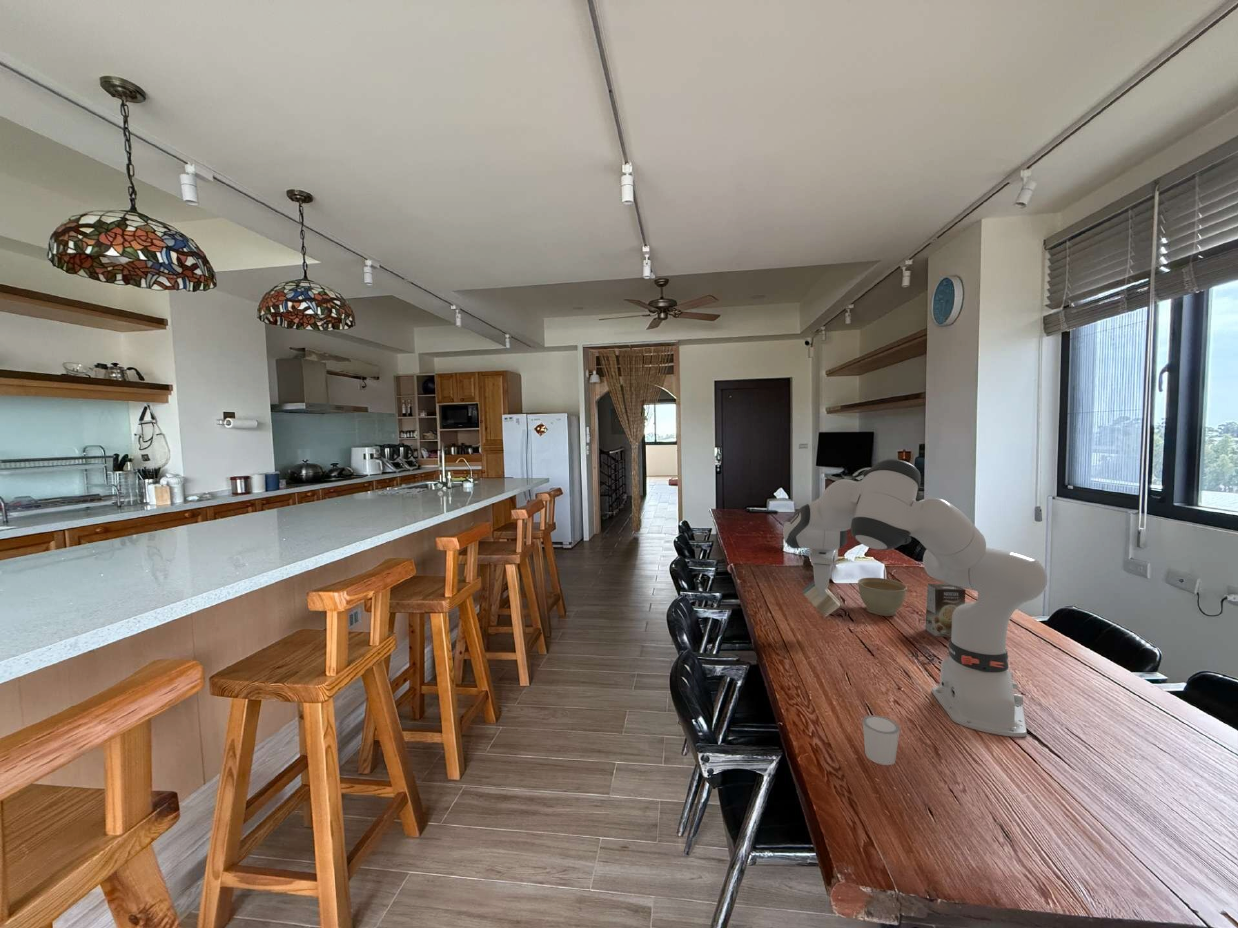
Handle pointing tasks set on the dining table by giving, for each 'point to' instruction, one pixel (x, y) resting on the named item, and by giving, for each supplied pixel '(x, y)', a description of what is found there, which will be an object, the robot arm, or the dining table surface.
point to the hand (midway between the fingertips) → (822, 594)
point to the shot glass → (880, 739)
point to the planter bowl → (882, 595)
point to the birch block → (821, 599)
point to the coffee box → (942, 607)
